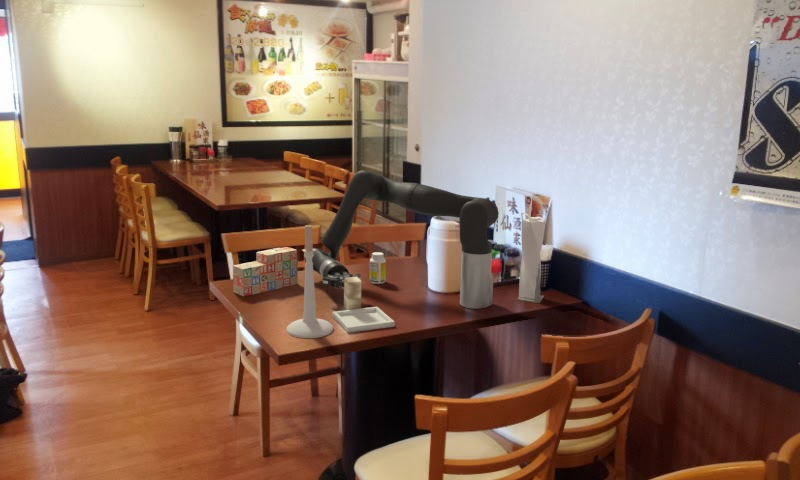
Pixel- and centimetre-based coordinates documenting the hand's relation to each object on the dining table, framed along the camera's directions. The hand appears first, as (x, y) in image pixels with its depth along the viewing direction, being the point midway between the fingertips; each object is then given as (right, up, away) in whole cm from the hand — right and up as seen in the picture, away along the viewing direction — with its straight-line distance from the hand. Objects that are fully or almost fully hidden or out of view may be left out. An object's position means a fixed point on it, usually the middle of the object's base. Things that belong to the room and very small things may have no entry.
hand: (350, 287), depth 204 cm
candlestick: (-10, -11, -16) cm, 22 cm away
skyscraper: (+57, -5, +16) cm, 59 cm away
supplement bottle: (+7, -1, +30) cm, 31 cm away
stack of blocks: (-30, -2, +22) cm, 37 cm away
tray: (+4, -9, -9) cm, 13 cm away
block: (0, -7, 0) cm, 7 cm away
